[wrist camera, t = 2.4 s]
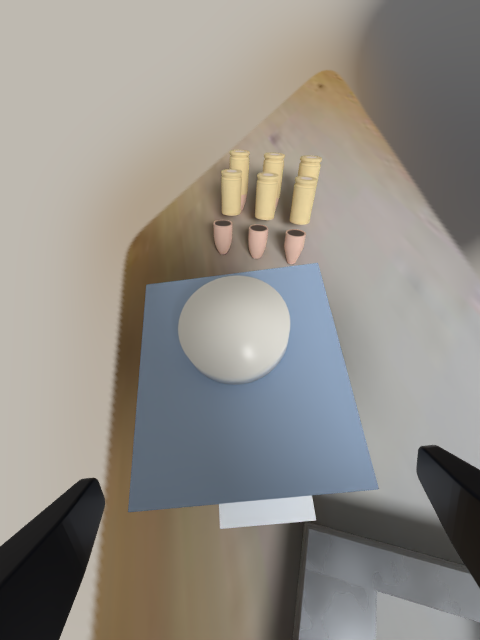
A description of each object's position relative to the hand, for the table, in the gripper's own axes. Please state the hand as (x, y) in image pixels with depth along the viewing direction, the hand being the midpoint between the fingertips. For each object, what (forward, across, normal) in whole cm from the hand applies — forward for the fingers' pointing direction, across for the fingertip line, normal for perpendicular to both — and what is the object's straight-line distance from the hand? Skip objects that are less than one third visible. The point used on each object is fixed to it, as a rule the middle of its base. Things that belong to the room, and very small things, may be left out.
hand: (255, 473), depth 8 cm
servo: (+8, 0, +5) cm, 10 cm away
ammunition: (+20, -3, -6) cm, 21 cm away
